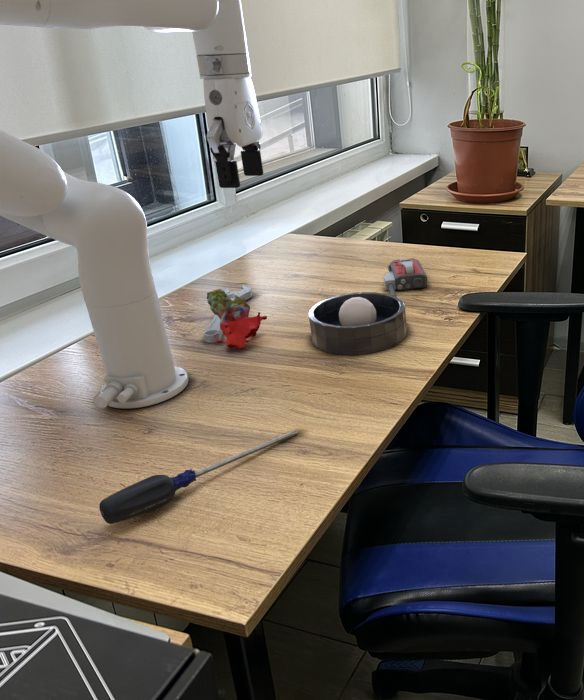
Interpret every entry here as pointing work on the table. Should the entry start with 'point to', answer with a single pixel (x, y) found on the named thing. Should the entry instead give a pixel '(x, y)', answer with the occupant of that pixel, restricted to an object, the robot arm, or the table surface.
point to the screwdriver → (161, 488)
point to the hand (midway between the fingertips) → (242, 181)
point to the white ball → (357, 312)
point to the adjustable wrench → (214, 326)
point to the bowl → (360, 337)
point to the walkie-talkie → (404, 275)
